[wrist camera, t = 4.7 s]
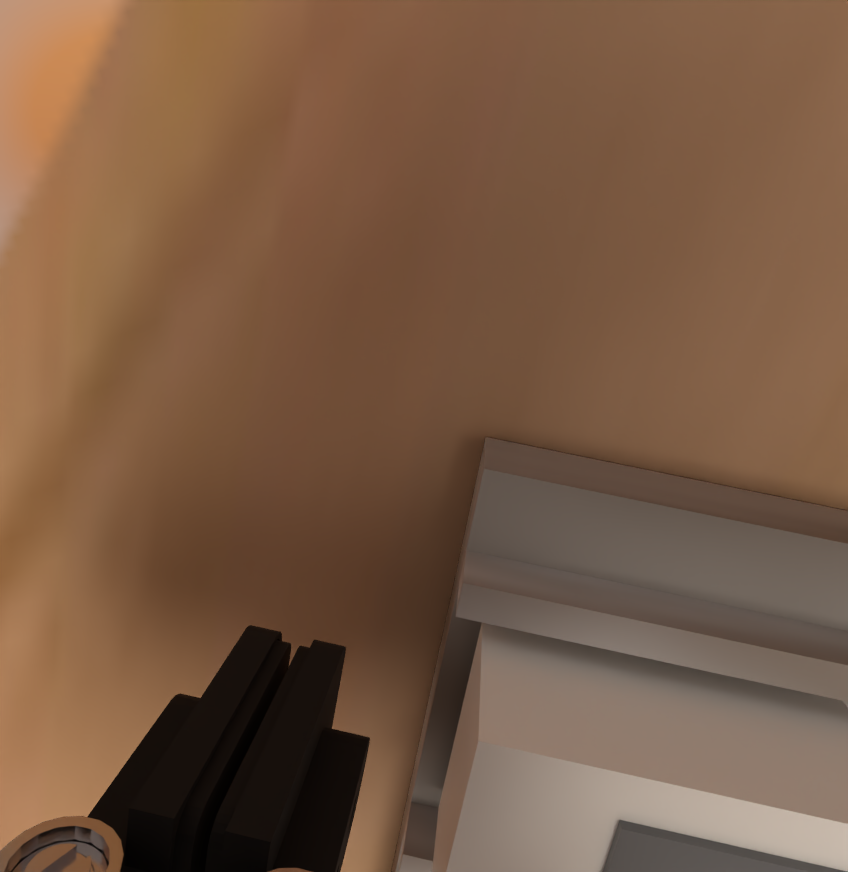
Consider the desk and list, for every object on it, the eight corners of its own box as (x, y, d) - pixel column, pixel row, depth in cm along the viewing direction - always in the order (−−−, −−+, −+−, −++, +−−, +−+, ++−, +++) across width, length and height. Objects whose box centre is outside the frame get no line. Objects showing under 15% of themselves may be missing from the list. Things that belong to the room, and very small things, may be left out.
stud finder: (482, 618, 12) (478, 748, 9) (838, 696, 11) (962, 858, 8) (438, 807, 13) (421, 980, 10) (762, 882, 13) (847, 1084, 10)
